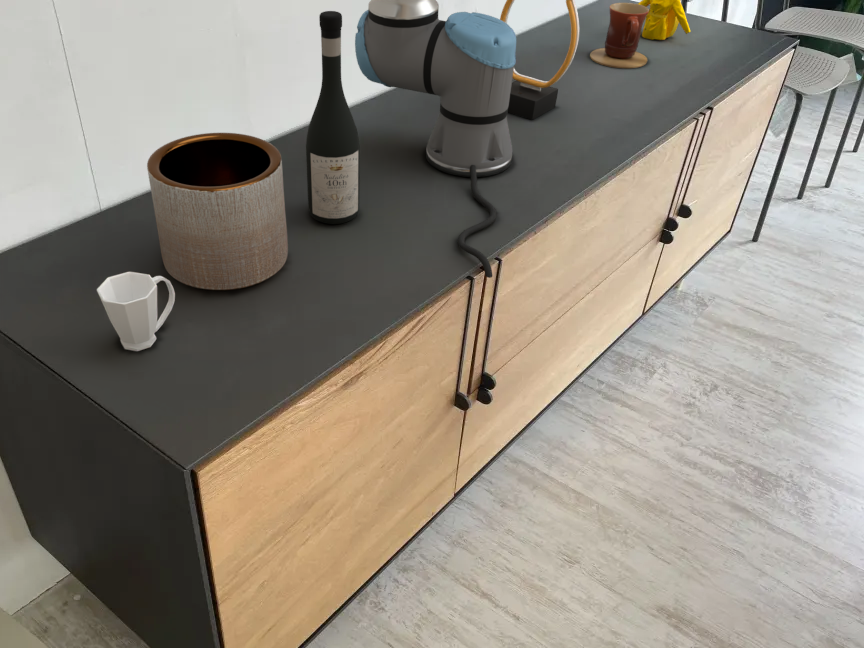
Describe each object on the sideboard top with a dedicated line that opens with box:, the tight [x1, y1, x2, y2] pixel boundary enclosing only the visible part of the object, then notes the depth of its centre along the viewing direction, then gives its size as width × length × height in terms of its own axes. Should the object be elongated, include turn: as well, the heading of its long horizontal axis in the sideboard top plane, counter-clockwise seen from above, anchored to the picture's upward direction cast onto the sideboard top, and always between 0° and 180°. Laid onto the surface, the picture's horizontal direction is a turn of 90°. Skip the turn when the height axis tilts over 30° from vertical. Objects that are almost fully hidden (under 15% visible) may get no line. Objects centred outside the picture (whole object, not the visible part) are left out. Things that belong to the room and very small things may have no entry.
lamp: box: [499, 0, 580, 121], centre depth 148 cm, size 17×9×32 cm, turn 50°
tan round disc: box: [589, 47, 648, 69], centre depth 181 cm, size 13×13×1 cm
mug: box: [604, 2, 650, 59], centre depth 178 cm, size 12×9×10 cm
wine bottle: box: [305, 10, 361, 225], centre depth 114 cm, size 8×8×30 cm
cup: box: [96, 271, 176, 352], centre depth 96 cm, size 7×10×8 cm
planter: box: [146, 132, 289, 292], centre depth 107 cm, size 18×18×16 cm
